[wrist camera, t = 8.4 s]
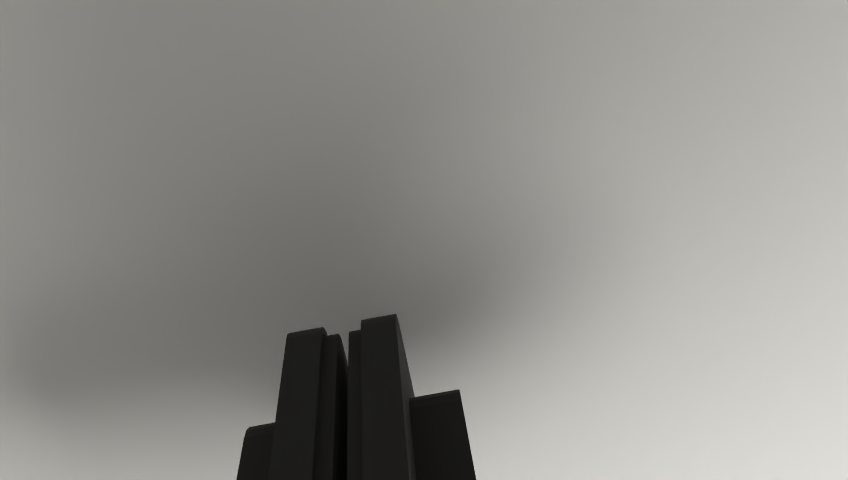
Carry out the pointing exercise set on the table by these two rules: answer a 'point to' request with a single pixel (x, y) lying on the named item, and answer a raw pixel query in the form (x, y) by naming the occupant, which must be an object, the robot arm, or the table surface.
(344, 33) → the table surface
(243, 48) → the table surface
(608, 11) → the table surface
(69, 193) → the table surface
